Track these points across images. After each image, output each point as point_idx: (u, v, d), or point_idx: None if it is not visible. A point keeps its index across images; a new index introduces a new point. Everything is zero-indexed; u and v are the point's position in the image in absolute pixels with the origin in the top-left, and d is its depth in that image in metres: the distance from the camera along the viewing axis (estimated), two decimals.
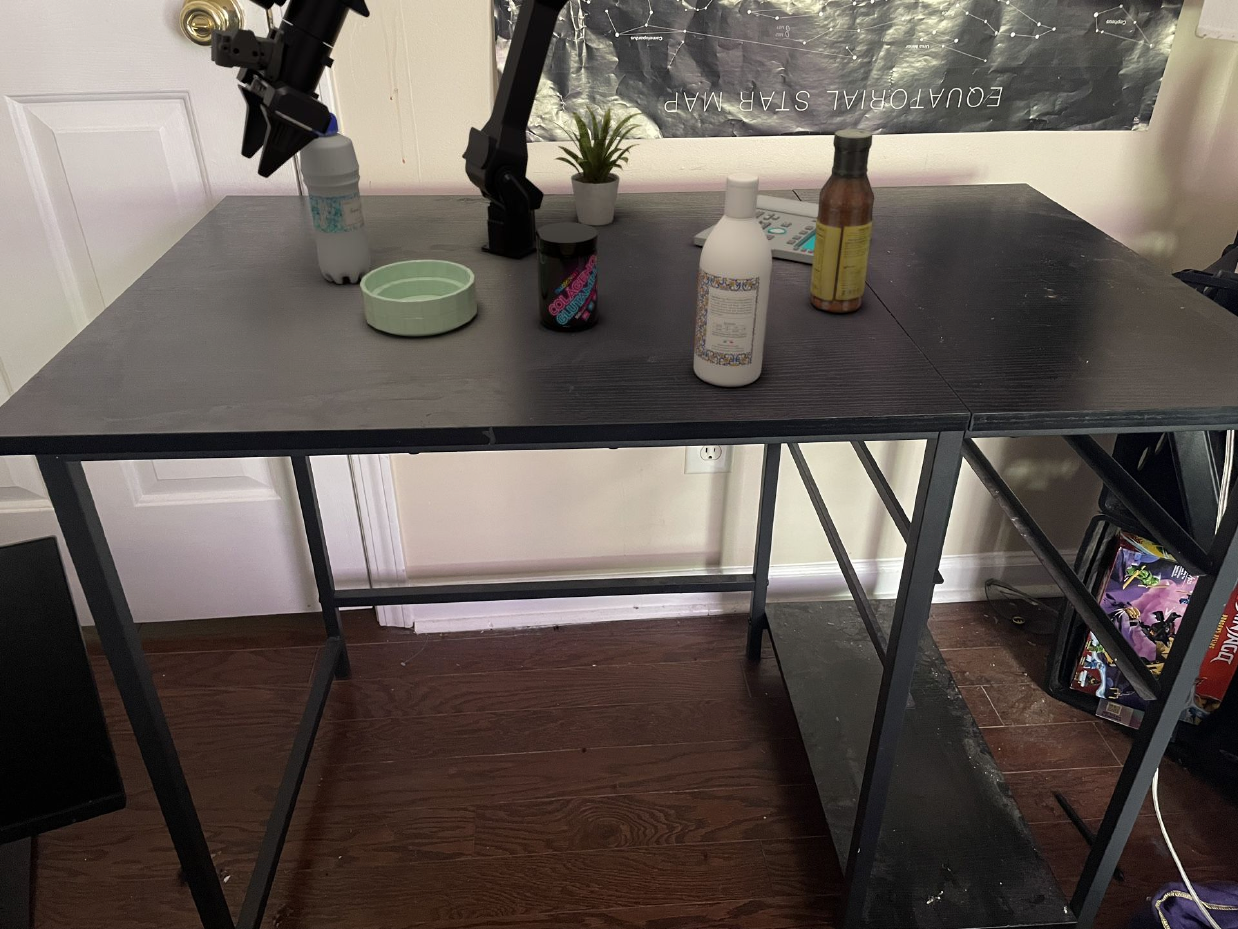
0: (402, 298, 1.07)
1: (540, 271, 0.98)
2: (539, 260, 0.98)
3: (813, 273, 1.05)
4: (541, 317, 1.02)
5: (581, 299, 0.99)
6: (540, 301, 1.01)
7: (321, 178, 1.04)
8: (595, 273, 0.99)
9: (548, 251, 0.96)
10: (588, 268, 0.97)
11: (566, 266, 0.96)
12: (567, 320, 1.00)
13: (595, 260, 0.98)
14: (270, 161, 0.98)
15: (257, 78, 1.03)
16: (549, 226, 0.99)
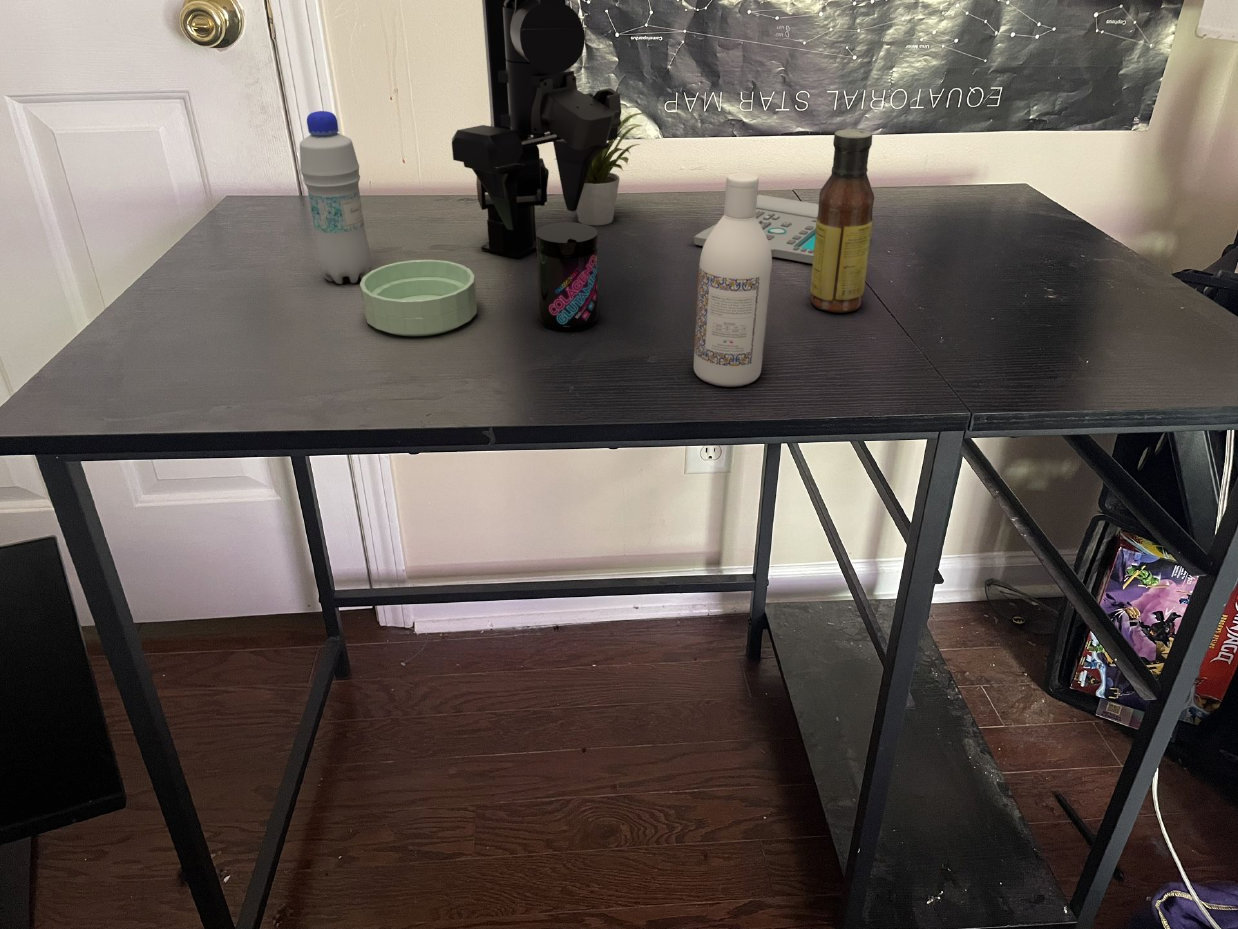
0: (402, 298, 1.07)
1: (540, 271, 0.98)
2: (539, 260, 0.98)
3: (813, 273, 1.05)
4: (541, 317, 1.02)
5: (581, 299, 0.99)
6: (540, 301, 1.01)
7: (321, 178, 1.04)
8: (595, 273, 0.99)
9: (548, 251, 0.96)
10: (588, 268, 0.97)
11: (566, 266, 0.96)
12: (567, 320, 1.00)
13: (595, 260, 0.98)
14: None
15: None
16: (549, 226, 0.99)
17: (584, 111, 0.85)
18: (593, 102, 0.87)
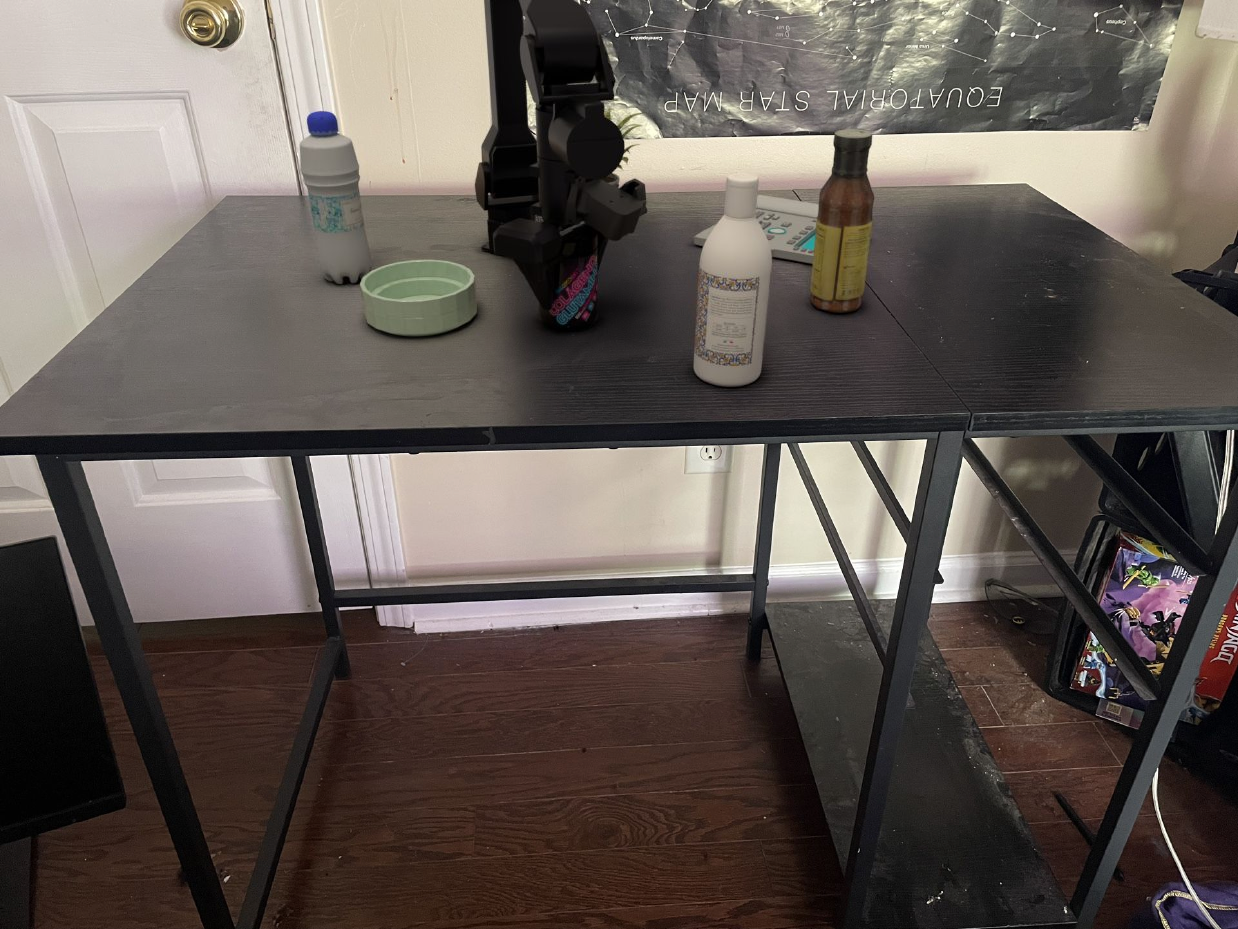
0: (402, 298, 1.07)
1: None
2: None
3: (813, 273, 1.05)
4: (541, 317, 1.02)
5: (581, 299, 0.99)
6: None
7: (321, 178, 1.04)
8: (595, 273, 0.99)
9: None
10: (588, 269, 0.97)
11: (566, 267, 0.96)
12: (567, 320, 1.00)
13: (595, 260, 0.98)
14: None
15: None
16: None
17: (618, 205, 0.92)
18: (622, 194, 0.94)
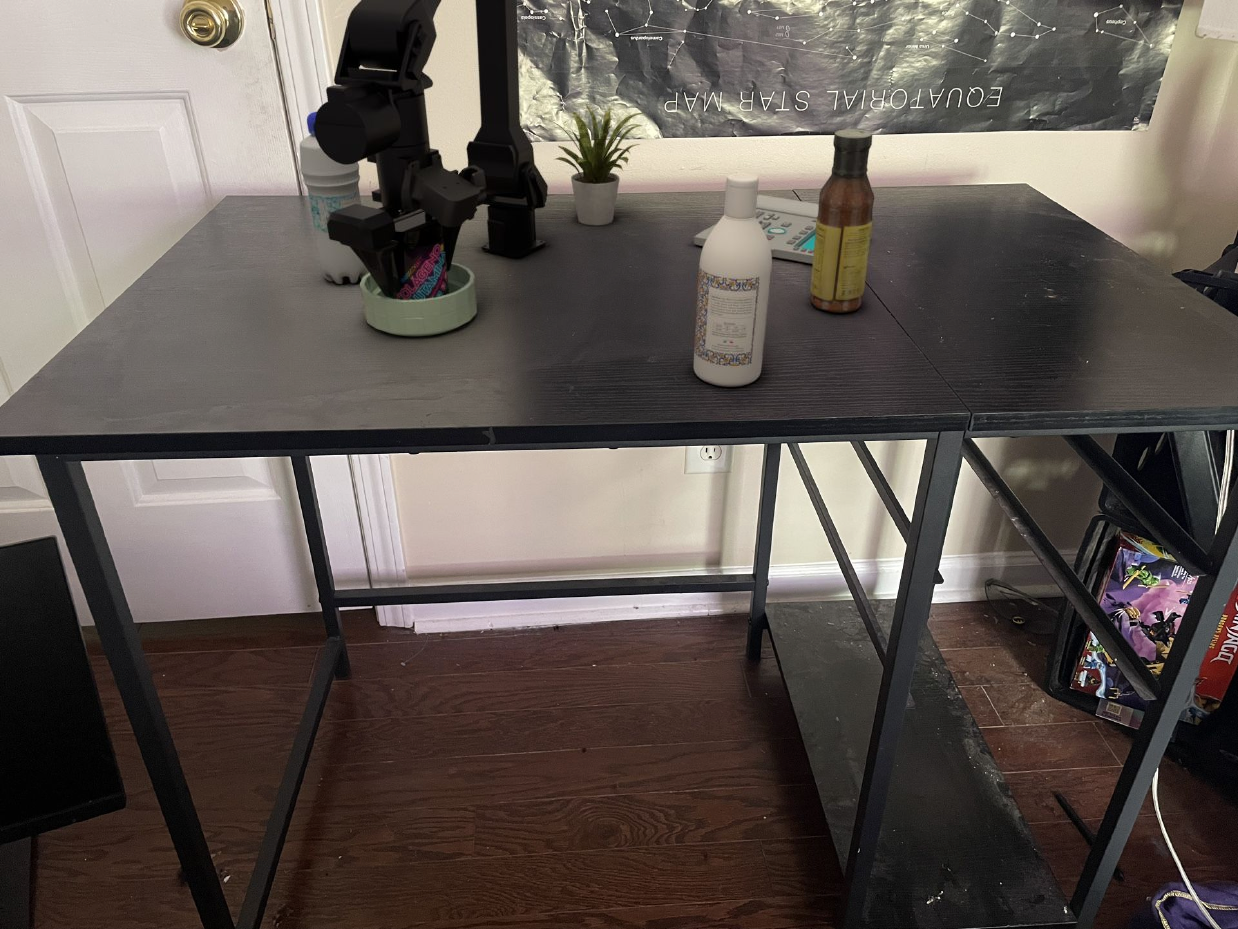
0: None
1: None
2: None
3: (813, 273, 1.05)
4: None
5: (428, 288, 1.00)
6: None
7: (321, 178, 1.04)
8: (441, 262, 1.00)
9: None
10: (433, 258, 0.98)
11: (408, 255, 0.97)
12: None
13: (441, 249, 0.99)
14: None
15: None
16: None
17: (451, 191, 0.92)
18: (459, 180, 0.94)
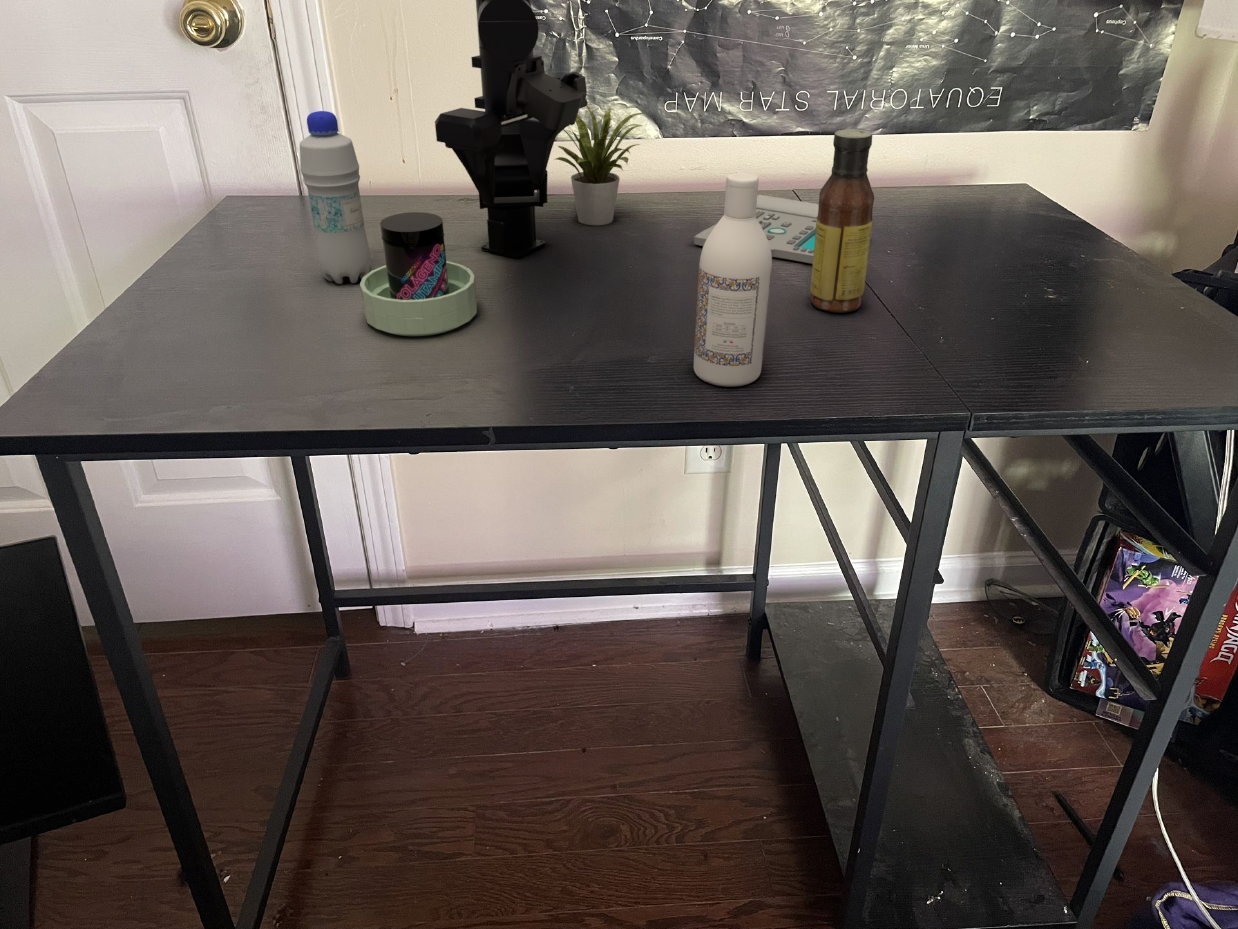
0: None
1: (386, 261, 0.99)
2: (384, 249, 0.99)
3: (813, 273, 1.05)
4: None
5: (428, 288, 1.00)
6: (390, 290, 1.01)
7: (321, 178, 1.04)
8: (441, 262, 1.00)
9: (390, 240, 0.97)
10: (433, 258, 0.98)
11: (408, 255, 0.97)
12: None
13: (441, 249, 0.99)
14: None
15: None
16: (396, 216, 1.00)
17: (557, 94, 0.94)
18: (562, 85, 0.96)
